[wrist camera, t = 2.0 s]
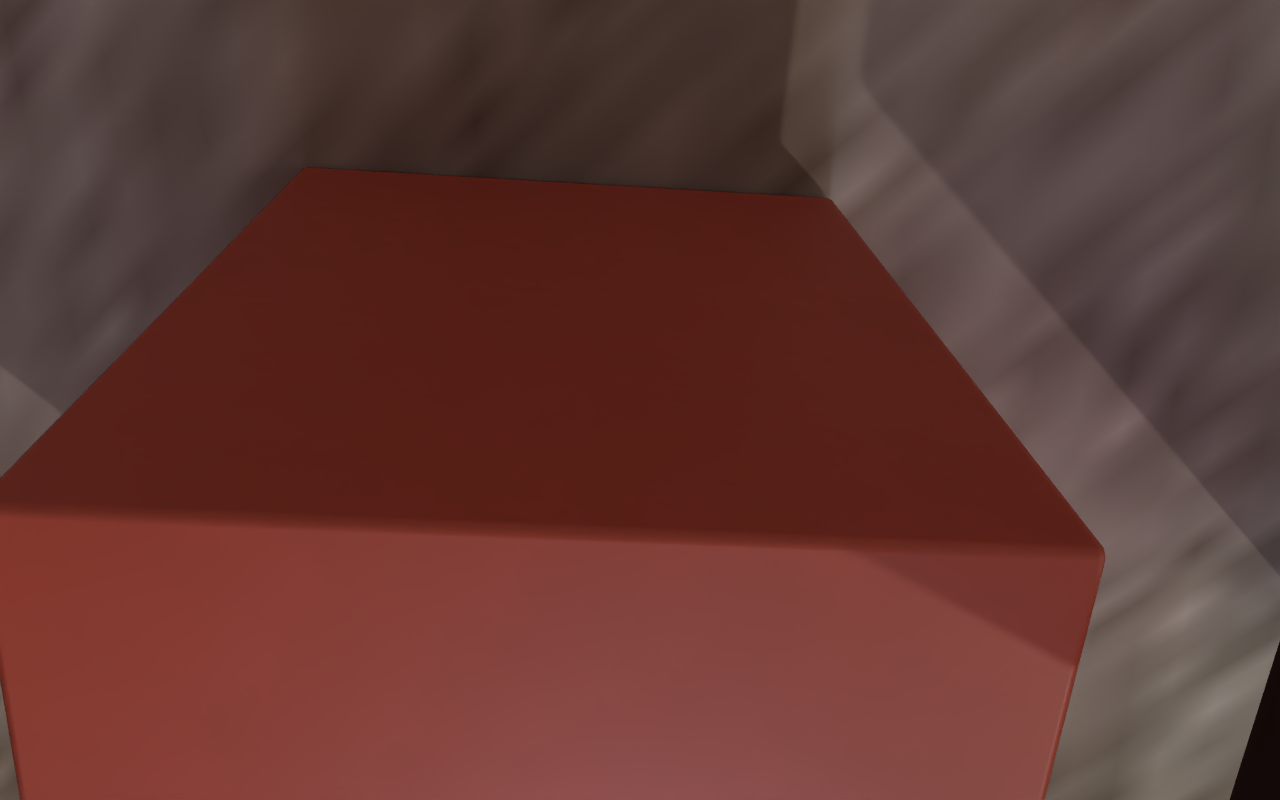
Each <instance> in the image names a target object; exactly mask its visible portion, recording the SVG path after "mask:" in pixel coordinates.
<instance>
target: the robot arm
mask: <svg viewBox="0 0 1280 800" xmlns="http://www.w3.org/2000/svg"><path fill="white" fill-rule="evenodd" d="M1230 800H1280V642H1279V645H1278V648H1277V652H1276V655H1275V658H1274V661H1273V664H1272V667H1271V671H1270V674H1269V677H1268V680H1267V683H1266V686H1265V690H1264V693H1263V696H1262V699H1261V702H1260V705H1259V709H1258V712H1257V715H1256V718H1255V721H1254V724H1253V728H1252V731H1251V734H1250V737H1249V740H1248V743H1247V747H1246V750H1245V753H1244V756H1243V759H1242V762H1241V766H1240V769H1239V772H1238V775H1237V778H1236V781H1235V785H1234V788H1233V791H1232V794H1231V797H1230Z"/></svg>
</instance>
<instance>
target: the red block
mask: <svg viewBox="0 0 1280 800" xmlns="http://www.w3.org/2000/svg"><path fill="white" fill-rule="evenodd" d="M1104 563H1105V553H1104V548H1103V547H1102V545H1101V544H1100V543H1099V542H1098V540H1097V539H1096V538H1095V536H1094V535H1093V534H1092V533H1091V531H1090V530H1089V529H1088V527H1087V526H1086V525H1085V524H1084V522H1083V521H1082V520H1081V519H1080V517H1079V516H1078V515H1077V513H1076V512H1075V511H1074V510H1073V508H1072V507H1071V506H1070V504H1069V503H1068V502H1067V501H1066V499H1065V498H1064V497H1063V495H1062V494H1061V493H1060V492H1059V490H1058V489H1057V488H1056V487H1055V485H1054V484H1053V483H1052V481H1051V480H1050V479H1049V478H1048V476H1047V475H1046V474H1045V472H1044V471H1043V470H1042V469H1041V467H1040V466H1039V465H1038V464H1037V462H1036V461H1035V460H1034V458H1033V457H1032V456H1031V455H1030V453H1029V452H1028V451H1027V449H1026V448H1025V447H1024V446H1023V444H1022V443H1021V442H1020V440H1019V439H1018V438H1017V437H1016V435H1015V434H1014V433H1013V432H1012V430H1011V429H1010V428H1009V426H1008V425H1007V424H1006V423H1005V421H1004V420H1003V419H1002V417H1001V416H1000V415H999V414H998V412H997V411H996V410H995V408H994V407H993V406H992V405H991V403H990V402H989V401H988V400H987V398H986V397H985V396H984V394H983V393H982V392H981V391H980V389H979V388H978V387H977V385H976V384H975V383H974V382H973V380H972V379H971V378H970V377H969V375H968V374H967V373H966V371H965V370H964V369H963V368H962V366H961V365H960V364H959V362H958V361H957V360H956V359H955V357H954V356H953V355H952V353H951V352H950V351H949V350H948V348H947V347H946V346H945V345H944V343H943V342H942V341H941V339H940V338H939V337H938V336H937V334H936V333H935V332H934V330H933V329H932V328H931V327H930V325H929V324H928V323H927V322H926V320H925V319H924V318H923V316H922V315H921V314H920V313H919V311H918V310H917V309H916V307H915V306H914V305H913V304H912V302H911V301H910V300H909V298H908V297H907V296H906V295H905V293H904V292H903V291H902V290H901V288H900V287H899V286H898V284H897V283H896V282H895V281H894V279H893V278H892V277H891V275H890V274H889V273H888V272H887V270H886V269H885V268H884V266H883V265H882V264H881V263H880V261H879V260H878V259H877V258H876V256H875V255H874V254H873V252H872V251H871V250H870V249H869V247H868V246H867V245H866V243H865V242H864V241H863V240H862V238H861V237H860V236H859V235H858V233H857V232H856V231H855V229H854V228H853V227H852V226H851V224H850V223H849V222H848V220H847V219H846V218H845V217H844V215H843V214H842V213H841V211H840V210H839V209H838V208H837V206H836V205H835V204H834V203H833V201H832V200H830V199H828V198H817V197H800V196H783V195H766V194H749V193H732V192H715V191H698V190H681V189H664V188H647V187H630V186H613V185H596V184H580V183H563V182H546V181H529V180H512V179H495V178H478V177H461V176H444V175H427V174H410V173H393V172H376V171H359V170H342V169H326V168H309V167H307V168H305V169H303V170H302V171H301V172H300V173H299V174H298V175H297V176H296V177H295V178H294V179H293V180H292V181H291V182H290V183H289V184H288V185H287V186H286V187H285V188H284V189H283V190H282V191H281V192H280V193H279V194H278V195H277V196H276V197H275V198H274V199H273V200H272V201H271V202H270V203H269V204H268V205H267V206H266V207H265V208H264V209H263V210H262V211H261V213H260V214H259V215H258V216H257V217H256V218H255V219H254V220H253V221H252V222H251V223H250V224H249V225H248V226H247V227H246V228H245V229H244V230H243V231H242V232H241V233H240V234H239V235H238V236H237V237H236V238H235V239H234V240H233V241H232V242H231V243H230V244H229V245H228V246H227V247H226V248H225V249H224V250H223V251H222V252H221V253H220V254H219V255H218V256H217V257H216V258H215V259H214V260H213V262H212V263H211V264H210V265H209V266H208V267H207V268H206V269H205V270H204V271H203V272H202V273H201V274H200V275H199V276H198V277H197V278H196V279H195V280H194V281H193V282H192V283H191V284H190V285H189V286H188V287H187V288H186V289H185V290H184V291H183V292H182V293H181V294H180V295H179V296H178V297H177V298H176V299H175V300H174V301H173V302H172V303H171V304H170V305H169V306H168V307H167V308H166V309H165V310H164V312H163V313H162V314H161V315H160V316H159V317H158V318H157V319H156V320H155V321H154V322H153V323H152V324H151V325H150V326H149V327H148V328H147V329H146V330H145V331H144V332H143V333H142V334H141V335H140V336H139V337H138V338H137V339H136V340H135V341H134V342H133V343H132V344H131V345H130V346H129V347H128V348H127V349H126V350H125V351H124V352H123V353H122V354H121V355H120V356H119V357H118V358H117V359H116V361H115V362H114V363H113V364H112V365H111V366H110V367H109V368H108V369H107V370H106V371H105V372H104V373H103V374H102V375H101V376H100V377H99V378H98V379H97V380H96V381H95V382H94V383H93V384H92V385H91V386H90V387H89V388H88V389H87V390H86V391H85V392H84V393H83V394H82V395H81V396H80V397H79V398H78V399H77V400H76V401H75V402H74V403H73V404H72V405H71V406H70V407H69V408H68V410H67V411H66V412H65V413H64V414H63V415H62V416H61V417H60V418H59V419H58V420H57V421H56V422H55V423H54V424H53V425H52V426H51V427H50V428H49V429H48V430H47V431H46V432H45V433H44V434H43V435H42V436H41V437H40V438H39V439H38V440H37V441H36V442H35V443H34V444H33V445H32V446H31V447H30V448H29V449H28V450H27V451H26V452H25V453H24V454H23V455H22V456H21V457H20V458H19V460H18V461H17V462H16V463H15V464H14V465H13V466H12V467H11V468H10V469H9V470H8V471H7V472H6V473H5V474H4V475H3V476H2V477H1V478H0V681H1V687H2V693H3V699H4V705H5V711H6V717H7V723H8V729H9V735H10V741H11V747H12V753H13V759H14V765H15V771H16V777H17V783H18V789H19V795H20V800H1044V799H1045V795H1046V791H1047V787H1048V783H1049V779H1050V775H1051V771H1052V767H1053V763H1054V759H1055V755H1056V751H1057V748H1058V744H1059V740H1060V736H1061V732H1062V728H1063V724H1064V720H1065V716H1066V712H1067V708H1068V704H1069V700H1070V696H1071V692H1072V689H1073V685H1074V681H1075V677H1076V673H1077V669H1078V665H1079V661H1080V657H1081V653H1082V649H1083V645H1084V641H1085V637H1086V633H1087V630H1088V626H1089V622H1090V618H1091V614H1092V610H1093V606H1094V602H1095V598H1096V594H1097V590H1098V586H1099V582H1100V578H1101V574H1102V571H1103V567H1104Z"/></svg>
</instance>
